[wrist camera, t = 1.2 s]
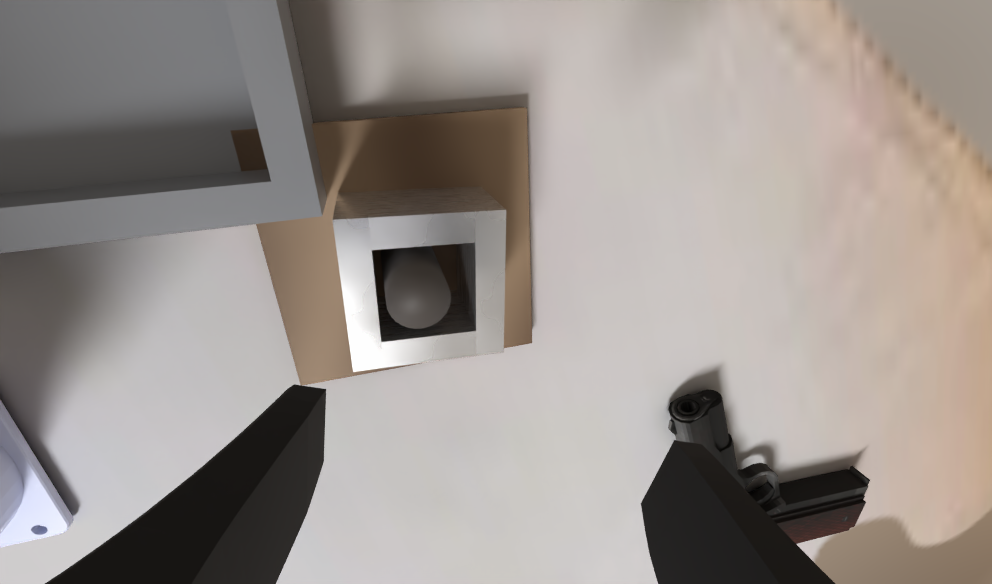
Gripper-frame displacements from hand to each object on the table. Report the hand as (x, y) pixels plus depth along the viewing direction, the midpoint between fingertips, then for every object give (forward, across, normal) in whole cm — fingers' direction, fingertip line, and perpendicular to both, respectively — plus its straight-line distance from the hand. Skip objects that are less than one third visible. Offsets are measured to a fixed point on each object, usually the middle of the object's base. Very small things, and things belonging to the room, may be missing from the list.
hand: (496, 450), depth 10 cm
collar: (+10, +3, +1) cm, 10 cm away
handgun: (+15, -21, +13) cm, 29 cm away
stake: (+10, +4, +1) cm, 11 cm away
